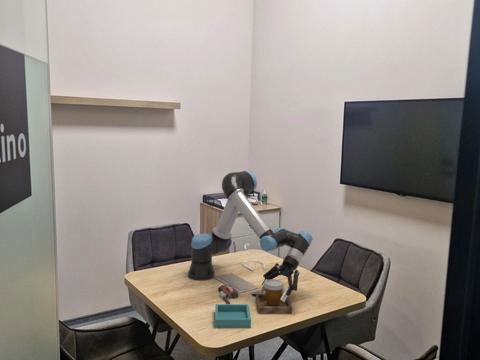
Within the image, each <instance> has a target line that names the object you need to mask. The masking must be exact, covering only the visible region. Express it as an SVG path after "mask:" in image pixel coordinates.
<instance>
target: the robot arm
mask: <svg viewBox="0 0 480 360" xmlns="http://www.w3.org/2000/svg"><path fill="white" fill-rule="evenodd" d="M257 185H258V181H257V178H256V175H255V174H254V173H253V172H251V171H248V170H242V171H236V172H235V171H234V172H229V173H227V174H225V176H224V177H223V179H222V181H221V188H222V189H221V190H222V193H223V194H224V196H225V198H226V199H227V201H226V203H225V205H224V208H223V210H222V212H221V215H220V218H219V220H218V222H217V225H216V226H214V227H213V228H212V231H211V232H210V233H198V234H196V235H194V236H193V237H192V239H191V244H190V246H191V247H190V248H191V250H190V251H191V252H190V253H191V254H190V255H191V258H190V260H191V263H190V266H189V268H188V274H187V276H188V278H189V279H191V280H194V281H195V280H196V281H208V280H211V279H214V277H215V275H216V272H215V268H214V265H213V256H214V255H218V254H220V253H224V252H227V251H228V250H229V249H230V248H231V246H232V244H233V239H232V238H233V237H232V233H231V232H232V229H233V228H234V227H233V226H234V224H235V222H236V219H237V217H238V215H239V214H240V215H241V216H242V217H243V219H244V220H245V222H246V223H248V225H249V226H250V228H251V229H252V231H253V232H254V233H255V234H256V236H257V237H258V238H259V243H260V247H259V248H260V249H261V250H263V251H265V252H271V251H275V250H276V249H280V248H281V247H284V246H287V247H289V248H290V249H289V250H288V252H287V253H286V256H285V257H284V258H283V260H282V264H280V263H278V262H276V263H275V265H274V266H273V267H272V268H270V269H268V270H267V272H265V273H263V275H262V277H263V278H264V280H263V282H262V283H261V287H260V289H259V290H258V291H259V292H260V294H265V287H264V283H265V281H267V280H270V279H275V278H277V277H280V276H283V277H286V278H287V284H288V286H287V287H286V288H285V290H284V292H283V293H282V294H283V295H282V297H281V302H282V303H285V300H286V298H287V297H288V298H289V296H290V295H291V293H292V291H295V292H296V291H297V290H298V285H299V283H298V282H299V275H300V271H299V270H298V269H297V268H299V267H298V266H299V264H301V261H302V260H303V258H304V256H305V254H306V252H307V250H308V249H309V247H310V246H311V244H312V241H313V240H314V239H313V236H312V235H311V234H310V233H309V232H308V231H305V230H301V231H300V232H299V233H295V232H293V231H290V230H287V229H286V228H282V227H278V228H276V229H275V230H273V229H271V226H270V225H269V224H268V223H267V222H266V220H265V219H264V218H263V217H262V215H261V214H260V213H259V211H258V210H257V208H256V207H255V206H254V205H253V203H252V202H251V201H250V200H249V195H250V193H251V192H253V191H255V189H256V188H257ZM292 275H293V276H292Z"/></svg>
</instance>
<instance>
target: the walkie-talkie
mask: <svg viewBox="0 0 480 360" xmlns="http://www.w3.org/2000/svg"><path fill="white" fill-rule="evenodd" d="M217 290H218V291H219V297H220V298H221V300H224V301H226V303H227V304H231V301H229V299H237V298H238V297H239V291H237V290H236V289H235V288H234V287H233V286H232V285H231V284H222V285H221V284H220V286H219V287H218V288H217Z"/></svg>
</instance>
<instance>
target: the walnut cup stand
mask: <svg viewBox="0 0 480 360" xmlns="http://www.w3.org/2000/svg"><path fill="white" fill-rule="evenodd" d="M283 294H284V293H282V295H283ZM281 297H282V296H281ZM261 302H266V294H265V293H255V303H256V309H257V312H258V314H259V315H264V314H265V315H267V314H268V315H269V314H270V315H275V314H276V315H279V314H281V315H283V314H284V315H286V314H293V307H292V304H291V301H290V299H289V296H288V297H287V298H286V300H285V302H284V304H285V306H281V305H280V306H267V305H266V306H264V305H263V306H262V305H261Z"/></svg>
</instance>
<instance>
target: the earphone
mask: <svg viewBox="0 0 480 360" xmlns="http://www.w3.org/2000/svg"><path fill="white" fill-rule="evenodd" d="M257 246H258V247H259V248H261V247H260V242H258V243H257ZM243 247H244V250H245V251H246V252H247V254H248V255H249V257H250V258H251V260H245V261H242V262H241V265H242V266H243V267H245V268H246V269H247V270H249V271H251V272H254V271H255V270H256V269H257V268H256V262H257V263H260V264H262V268H263V270H264V271H266V270H267V268H266V261H267V256H266V251H264V250H263V251H264V252H263V253H264V257H265V258H264V259H265V261H264V262H262V261H260V260H255V259H253V258H252V256H251V255H250V253H249V252H248V250H247V249H248V248H249V247H250V243H245V244H244V246H243ZM252 262H253V264H254V269H253V268H252V267H250V266H247V265H245V263H252Z"/></svg>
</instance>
